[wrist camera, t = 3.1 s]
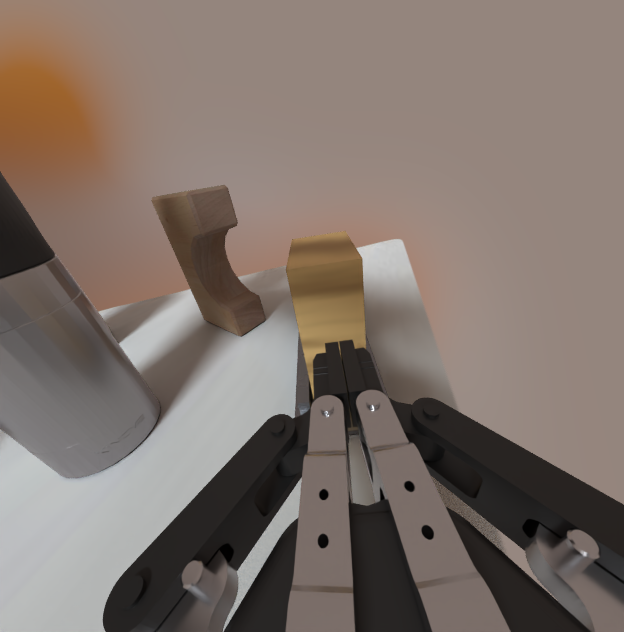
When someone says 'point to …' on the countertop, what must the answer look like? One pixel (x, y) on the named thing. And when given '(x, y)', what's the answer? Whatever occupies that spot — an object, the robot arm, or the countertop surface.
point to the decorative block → (209, 256)
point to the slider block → (326, 293)
